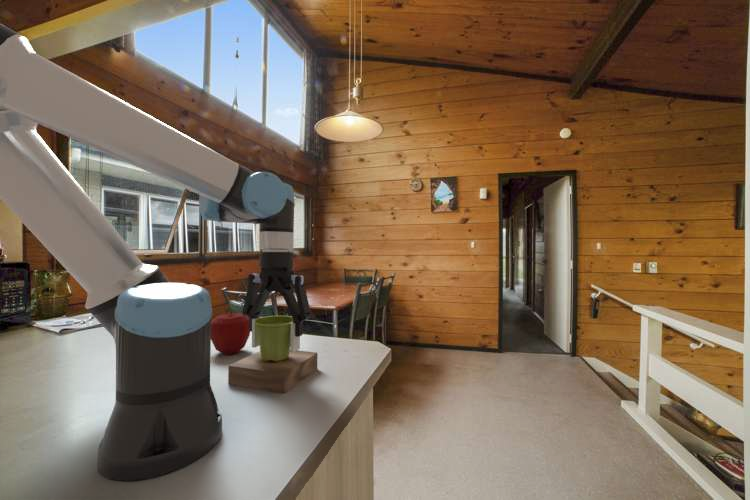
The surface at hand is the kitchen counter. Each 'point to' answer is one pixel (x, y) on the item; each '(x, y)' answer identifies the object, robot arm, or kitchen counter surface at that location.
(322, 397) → the kitchen counter surface
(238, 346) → the apple
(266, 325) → the plant pot
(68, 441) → the kitchen counter surface
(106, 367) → the kitchen counter surface
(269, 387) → the walnut plinth
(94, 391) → the kitchen counter surface
